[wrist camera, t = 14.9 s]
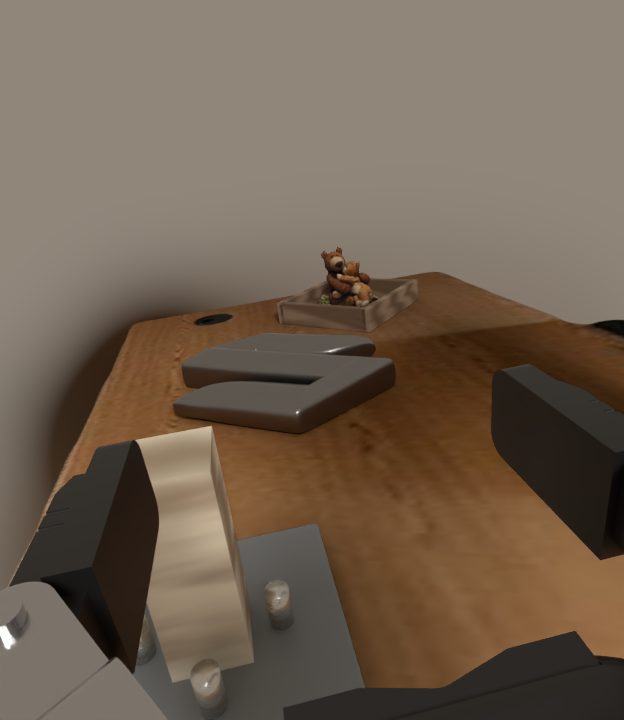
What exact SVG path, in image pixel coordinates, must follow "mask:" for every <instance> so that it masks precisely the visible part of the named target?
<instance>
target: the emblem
mask: <svg viewBox="0 0 624 720" xmlns="http://www.w3.org/2000/svg"><path fill="white" fill-rule="evenodd" d="M375 349H376V347H375V344H374V343H373V341H372V340H371V339H369V338H366V337H363V336H356V335H314V334H280V333H263V334H259V335H255V336H252V337H248V338H244V339H241V340H237V341H233V342H230V343H226V344H222V345H218V346H215V347H211V348H208V349H206V350H204V351H202V352H201V353H199V354H197V355H195V356H194V357H192V358H190V359H188V360H186V361H184V362H183V363H182V373H183V378H184V381H185V384H186V386H187V387H189V388H196V389H197V390H195V391H192V392H190V393H188V394H186V395H184V396H182V397H180V398H179V399H177V400H176V401H175V402H174V403H173V408H174V411H175V413H176V414H177V415H179V416H183V417H191V418H200V419H206V420H212V421H217V422H222V423H228V424H234V425H240V426H247V427H254V428H261V429H268V430H275V431H283V432H290V433H303V432H306V431H308V430H310V429H312V428H314V427H316V426H318V425H320V424H323V423H325V422H327V421H329V420H331V419H333V418H335V417H337V416H339V415H341V414H343V413H345V412H347V411H349V410H350V409H352V408H354V407H356V406H358V405H360V404H362V403H364V402H366V401H368V400H369V399H371V398H373V397H375V396H377V395H379V394H381V393H382V392H384V391H386V390H388V389H390V388H391V387H393V386H394V384H395V377H396V375H395V366H394V363H393V361H392V360H391V359H388V358H377V357H370V356H371V355H372V354H373V353H374V352H375Z"/></svg>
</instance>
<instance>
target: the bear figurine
mask: <svg viewBox="0 0 624 720" xmlns="http://www.w3.org/2000/svg"><path fill="white" fill-rule="evenodd" d="M321 256H322V258H323V259H324V262H325V268H326V269H327V270H328V275H327V281H328V283H329V296H326V295H323V296H321V297H320V299H319V300H318V301H319V304H326V305H341V306H356V307H366V306H368V305H369V304H371V303H373V302H375V301H376V300H378V299H379V298H378V297H377V296H375V295H374V294H373V292H372V290H371V289H370V287H369V286H368V285H367V284H368V283H369V282H370V277H369V276H368V275H367V274H365V273H359V262H358V261H357V263H355V262H353V261H352V262H349V263H347V264H346V265H345V263H346V262H345V260H344V258H343V256H342V249H341V248H338V247H337V250H336V252H335V251H334V252H331V253H329V254H327V253H326V252H325V251H323V253H322V254H321Z"/></svg>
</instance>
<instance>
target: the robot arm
mask: <svg viewBox="0 0 624 720" xmlns="http://www.w3.org/2000/svg"><path fill="white" fill-rule="evenodd" d="M491 433H492V439H493V442H494V445H495V448H496V450H497V452H498V453H499V455H500V456H501V457H502V458H503V459H504V460H505V461H506V462H507V463H508V465H509V466H510V467H511V468H512V469H513V470H514V471H515V472H516V473H517V474H518V475H519V476H520V477H521V478H522V479H523V480H524V481H525V482H526V483H527V484H528V485H529V486H530V487H531V488H532V490H533V491H534V492H535V493H536V494H537V495H538V496H539V497H540V498H541V499H542V500H543V501H544V502H545V503H546V504H547V505H548V506H549V507H550V508H551V509H552V510H553V511H554V512H555V514H556V515H557V516H558V517H559V518H560V519H561V520H562V521H563V522H564V523H565V524H566V525H567V526H568V527H569V528H570V529H571V530H572V531H573V532H574V533H575V534H576V535H577V536H578V538H579V539H580V540H581V541H582V542H583V543H584V544H585V545H586V546H587V547H588V548H589V549H590V550H591V551H592V552H593V553H594V554H595V555H596V556H597V557H598V558H599V559H600V560H603V559H607V558H611V557H615V556H619V555H623V554H624V414H622V413H620V412H619V411H616V412H615V410H614V408H612V407H611V406H609V405H608V404H606V403H604V402H600V401H599V399H598V398H596V397H595V396H593V395H591V394H590V393H588V392H587V391H585V390H583V389H582V388H580V387H577V386H574V385H570V384H567V383H564V382H561V381H558V380H555V379H554V378H552V377H551V376H549V375H548V374H546V373H544V372H543V371H541V370H540V369H538V368H537V367H535V366H533V365H531V364H526V365H521V366H516V367H511V368H506V369H501V370H497V371H496V372H495V373H494V375H493V380H492V415H491ZM46 514H47V515H46V516H44V518H43V520H42V522H41V524H40V526H39V528H38V529H39V532H36V534H35V536H34V538H33V540H32V542H31V544H30V546H29V548H28V550H27V552H26V554H25V556H24V558H23V560H22V562H21V564H20V566H19V568H18V570H17V572H16V574H15V576H14V578H13V580H12V582H11V584H10V586H9V587H8V588H6V589H4V590H2V591H0V720H168V719H167V718H166V717H165V715H164V714H163V713H162V712H161V710H160V709H159V708H158V706H157V705H156V704H155V703H154V701H153V700H152V699H151V698H150V696H149V695H148V694H147V693H146V691H145V690H144V689H143V688H142V686H141V685H140V684H139V683H138V681H137V680H136V679H135V678H134V676H133V675H132V674H133V673H135V667H136V661H137V655H138V649H139V643H140V637H141V631H142V626H143V620H144V614H145V608H146V602H147V596H148V590H149V584H150V578H151V572H152V566H153V561H154V555H155V549H156V543H157V537H158V531H159V512H158V505H157V501H156V497H155V494H154V490H153V487H152V484H151V481H150V478H149V474H148V471H147V468H146V465H145V461H144V458H143V455H142V452H141V449H140V446H139V444H138V443H137V441H135V440H132V441H127V442H121V443H116V444H111V445H106V446H101V447H98V448H97V449H96V451H95V453H94V455H93V458H92V460H91V462H90V464H89V467H88V469H87V471H86V474H81V475H76V476H73V477H72V478H71V479H70V480H69V481H68V482H67V483H66V484H65V485H64V486H63V487H62V488H61V489H60V490H59V491H58V492H57V493H56V494H55V496H54V498H53V500H52V502H51V504H50V506H49V508H48V510H47V512H46ZM283 714H284V720H624V659H622V658H615V657H607V656H594V655H593V654H592V652H591V651H590V650H589V648H588V647H587V646H586V644H585V643H584V642H583V640H582V639H581V638H580V636H579V635H578V634H577V632H576V631H573V632H569V633H565V634H561V635H558V636H554V637H550V638H546V639H542V640H539V641H535V642H531V643H527V644H523V645H520V646H516V647H512V648H508V649H506V650H504V651H503V652H501V653H500V654H498V655H496V656H495V657H493V658H492V659H490V660H488V661H487V662H485V663H483V664H482V665H480V666H479V667H477V668H475V669H474V670H472V671H471V672H469V673H467V674H466V675H464V676H462V677H461V678H459V679H458V680H456V681H454V682H453V683H451V684H449V685H447V686H445V687H442V688H435V689H425V688H356V689H353V690H349V691H345V692H341V693H337V694H334V695H330V696H326V697H322V698H318V699H315V700H311V701H307V702H303V703H299V704H296V705H292V706H288V707H284V708H283Z"/></svg>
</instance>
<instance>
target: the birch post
mask: <svg viewBox="0 0 624 720" xmlns="http://www.w3.org/2000/svg"><path fill="white" fill-rule="evenodd" d="M135 441H137V443H138V444H139V446H140V449H141V452H142V455H143V458H144V461H145V465H146V468H147V471H148V474H149V478H150V481H151V484H152V487H153V490H154V494H155V497H156V501H157V505H158V512H159V531H158V537H157V543H156V549H155V555H154V561H153V566H152V572H151V578H150V584H149V590H148V596H147V605H148V609H149V612H150V615H151V618H152V621H153V624H154V627H155V630H156V633H157V636H158V639H159V642H160V646H161V649H162V652H163V655H164V658H165V661H166V664H167V667H168V670H169V673H170V676H171V680H172V683H174V682H178V681H182V680H186V679H190V673H191V670H192V668H193V667H194V666H195V665H196V664H197V663H198V662H200V661H201V660H204V659H213V660H215V661H216V662H217V663H218V665H219V668H220V671H222V670H226V669H230V668H234V667H238V666H242V665H246V664H250V663H254V654H253V640H252V626H251V612H250V598H249V594H248V589H247V585H246V580H245V576H244V571H243V566H242V562H241V557H240V553H239V548H238V544H237V539H236V534H235V530H234V525H233V521H232V516H231V512H230V507H229V503H228V498H227V493H226V489H225V484H224V480H223V475H222V471H221V466H220V461H219V457H218V452H217V448H216V443H215V439H214V434H213V429H212V426H209V427H203V428H198V429H193V430H187V431H182V432H176V433H171V434H166V435H160V436H155V437H150V438H144V439H139V440H135Z"/></svg>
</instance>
